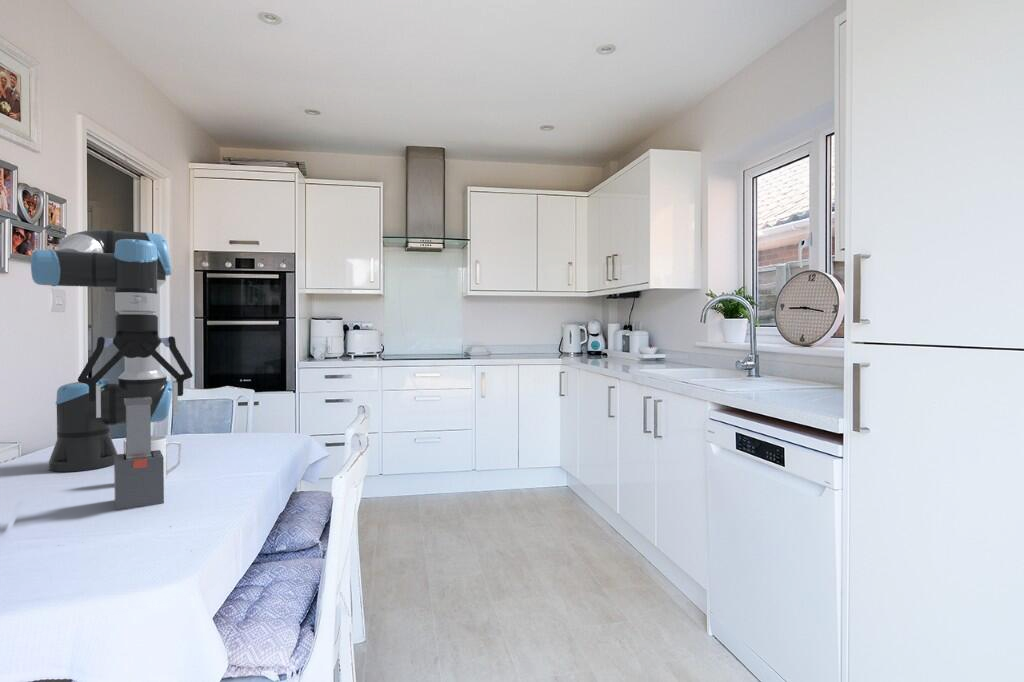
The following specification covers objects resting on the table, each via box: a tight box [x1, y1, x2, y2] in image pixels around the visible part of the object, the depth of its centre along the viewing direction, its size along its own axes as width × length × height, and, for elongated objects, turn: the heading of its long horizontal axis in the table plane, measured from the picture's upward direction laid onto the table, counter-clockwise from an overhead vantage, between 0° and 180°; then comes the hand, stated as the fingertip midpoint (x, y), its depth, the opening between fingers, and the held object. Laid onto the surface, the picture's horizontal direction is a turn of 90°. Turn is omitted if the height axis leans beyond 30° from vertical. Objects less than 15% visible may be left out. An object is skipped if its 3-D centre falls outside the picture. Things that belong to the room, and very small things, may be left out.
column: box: [124, 397, 152, 460], centre depth 122 cm, size 5×5×22 cm
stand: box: [113, 450, 165, 512], centre depth 122 cm, size 12×16×11 cm
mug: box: [123, 434, 182, 480], centre depth 141 cm, size 12×9×11 cm
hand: (138, 414), depth 122 cm, fingers open, 13 cm apart
